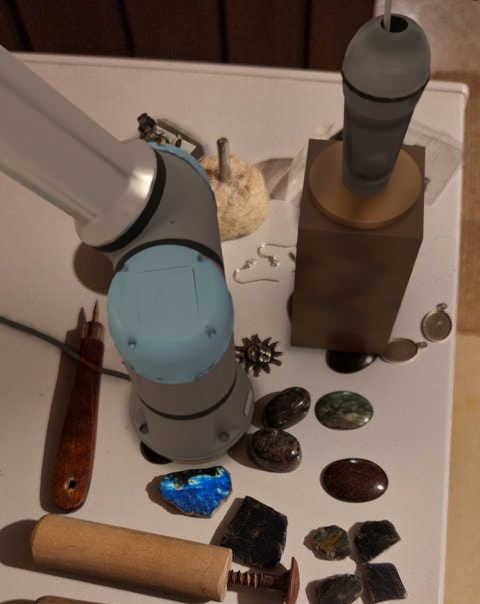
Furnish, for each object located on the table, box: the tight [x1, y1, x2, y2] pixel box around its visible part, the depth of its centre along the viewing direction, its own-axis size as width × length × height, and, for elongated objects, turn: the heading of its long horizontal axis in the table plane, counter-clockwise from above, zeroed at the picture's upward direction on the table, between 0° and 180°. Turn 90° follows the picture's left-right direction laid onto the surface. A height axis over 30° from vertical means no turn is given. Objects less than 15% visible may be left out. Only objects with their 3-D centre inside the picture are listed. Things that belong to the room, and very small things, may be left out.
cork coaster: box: [308, 140, 422, 229], centre depth 63 cm, size 11×11×1 cm
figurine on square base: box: [136, 112, 205, 162], centre depth 95 cm, size 12×6×11 cm
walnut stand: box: [289, 138, 426, 356], centre depth 73 cm, size 12×12×22 cm
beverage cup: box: [340, 0, 432, 196], centre depth 53 cm, size 7×7×20 cm
